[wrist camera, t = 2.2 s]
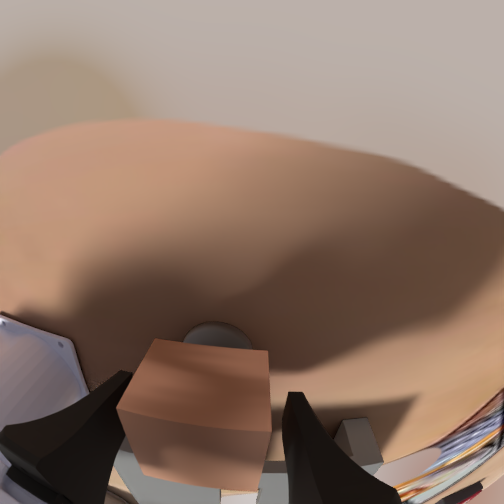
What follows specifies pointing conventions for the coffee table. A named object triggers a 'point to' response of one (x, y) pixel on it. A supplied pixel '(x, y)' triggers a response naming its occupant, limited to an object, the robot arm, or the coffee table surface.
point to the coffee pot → (113, 499)
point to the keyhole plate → (272, 478)
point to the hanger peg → (201, 409)
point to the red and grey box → (462, 495)
